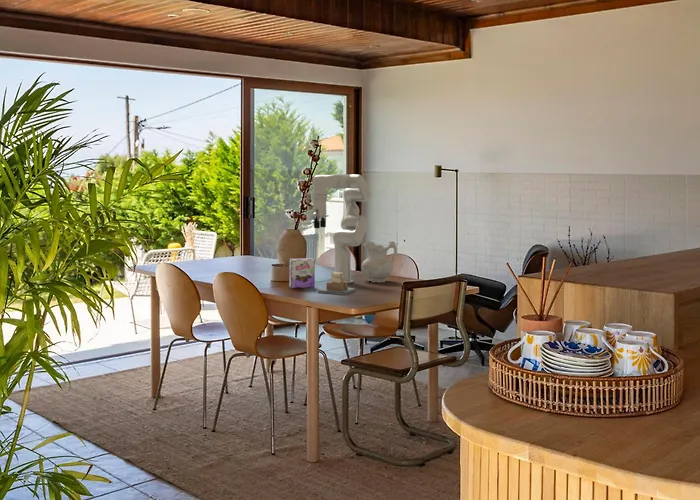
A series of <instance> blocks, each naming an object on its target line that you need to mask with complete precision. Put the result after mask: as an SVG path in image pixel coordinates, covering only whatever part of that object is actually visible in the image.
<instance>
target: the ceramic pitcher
mask: <svg viewBox="0 0 700 500" xmlns="http://www.w3.org/2000/svg"><path fill="white" fill-rule="evenodd" d="M388 243H389V244H388V246H383V245H382V244H375V242H374V241H373V242H372V241H365V242H364V243H363V245H362V246H363V247H364V248H365V249H366V250H367V255H368V256H367V258H366V259H364V260H363V261H362V263H361V271H362V274H363V275H364V276H365V277H366V278H368V280H367V282H369V281H371V282H370V283H375V282H377V283H386V282H385V281H387V280H386V279H387V278H389V277H390V276H391V275H392V273H393V271H394V261H395V260H396V258H397V255H398V247H397V245H396V243H395V241H388ZM392 248H393V254H392V255H391V260H390V259H389V258H388V251H389V249H392Z"/></svg>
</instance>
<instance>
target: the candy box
mask: <svg viewBox="0 0 700 500" xmlns="http://www.w3.org/2000/svg"><path fill="white" fill-rule="evenodd" d="M315 263H316V261H315V259H314V258H311V257H310V258H289V268H288V270H289V271H288V272H289V274H288V277H289V278H288V279H289V281H288V282H289V283H288V286H289V288H290V289H307V288H308V289H311V288H312V289H313V288H315V282H316V281H315V277H316V276H315V273H316V271H315V270H316V269H315V267H316V266H315V265H316V264H315Z"/></svg>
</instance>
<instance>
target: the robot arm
mask: <svg viewBox="0 0 700 500" xmlns="http://www.w3.org/2000/svg"><path fill="white" fill-rule="evenodd" d="M311 181H312V186H313V204H312V205H313V206H312V218H313V229H320V228H326V227H327V200H328V189H332V190H334V189H335V190H343V200H344V203H345V210H344V213H343V216H342V218H341V222H340V228H341V229H337V230H335V231H334V233H333V237H332V239H333V245H334V272H338V273H343V281H347V282H348V284H353V283H354V280H353V279H351V277H352V274H351V266H352V265H351V264H352V263H351V255H352V254H351V250H350V248H349V247H358V246H360V245H361V244H362V242H363V239H364V236H365V233H366V231H367V228H368V220H367V217H365V216H364V215H361V214H360V208H359V206H358V205H357V203H356V202H368V201H370V199H371V197H372V196H371V195H372V194H371V193H372V192H371V190H370V187H369V185H368V183H367V181H366V179H365V178H364V177H363V175H361V174H346V173H345V174H342V173H341V174H340V173H339V174H338V173H337V174H316V175H314V176H313V178H312V180H311Z"/></svg>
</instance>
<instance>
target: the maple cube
mask: <svg viewBox="0 0 700 500" xmlns="http://www.w3.org/2000/svg"><path fill="white" fill-rule="evenodd" d="M330 275H331V277H330V279H331V280H330V281H331V282H334V283H341V282H343V273H338V272H335V271H334V272H332V273H330Z"/></svg>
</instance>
